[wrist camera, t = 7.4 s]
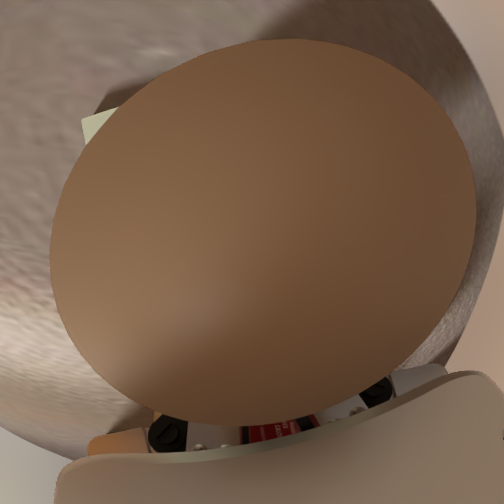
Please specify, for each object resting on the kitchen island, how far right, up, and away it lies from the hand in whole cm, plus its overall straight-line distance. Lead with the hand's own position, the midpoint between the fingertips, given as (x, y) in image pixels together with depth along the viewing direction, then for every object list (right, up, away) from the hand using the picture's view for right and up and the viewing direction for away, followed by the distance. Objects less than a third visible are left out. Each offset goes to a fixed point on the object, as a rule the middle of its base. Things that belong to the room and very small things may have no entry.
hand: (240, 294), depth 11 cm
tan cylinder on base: (0, 0, +5) cm, 5 cm away
